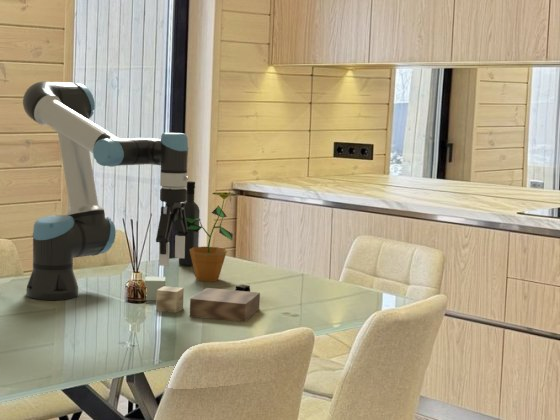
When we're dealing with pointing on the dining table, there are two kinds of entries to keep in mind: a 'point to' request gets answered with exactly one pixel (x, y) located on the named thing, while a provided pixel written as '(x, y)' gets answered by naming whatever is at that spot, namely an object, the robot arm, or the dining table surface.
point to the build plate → (243, 288)
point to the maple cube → (169, 299)
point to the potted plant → (209, 249)
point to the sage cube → (153, 286)
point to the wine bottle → (193, 213)
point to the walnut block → (224, 304)
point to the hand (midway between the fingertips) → (172, 261)
